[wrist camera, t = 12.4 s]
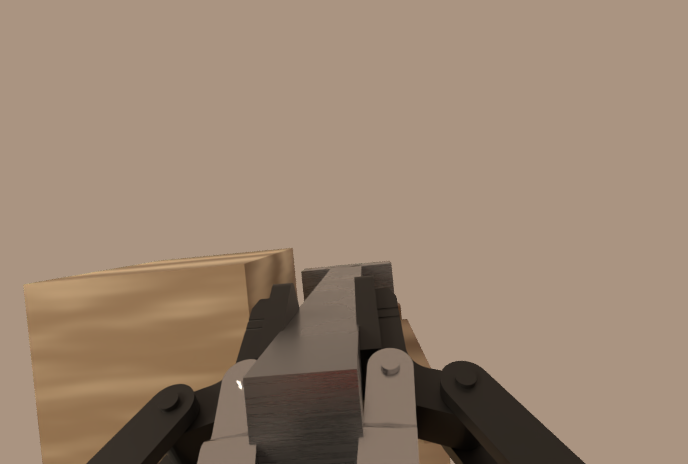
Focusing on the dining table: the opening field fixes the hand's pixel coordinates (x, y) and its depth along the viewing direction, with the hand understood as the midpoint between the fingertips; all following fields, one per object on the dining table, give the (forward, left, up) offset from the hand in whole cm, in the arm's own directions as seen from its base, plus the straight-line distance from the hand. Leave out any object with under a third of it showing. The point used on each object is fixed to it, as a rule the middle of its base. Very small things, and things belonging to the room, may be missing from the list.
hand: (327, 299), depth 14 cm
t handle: (-4, +4, -3) cm, 6 cm away
